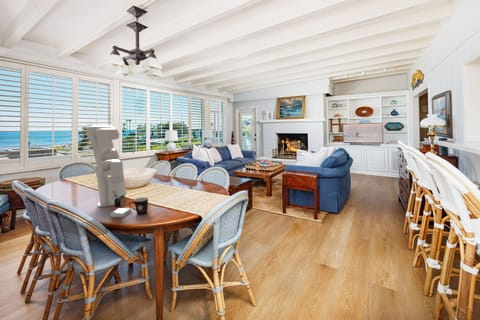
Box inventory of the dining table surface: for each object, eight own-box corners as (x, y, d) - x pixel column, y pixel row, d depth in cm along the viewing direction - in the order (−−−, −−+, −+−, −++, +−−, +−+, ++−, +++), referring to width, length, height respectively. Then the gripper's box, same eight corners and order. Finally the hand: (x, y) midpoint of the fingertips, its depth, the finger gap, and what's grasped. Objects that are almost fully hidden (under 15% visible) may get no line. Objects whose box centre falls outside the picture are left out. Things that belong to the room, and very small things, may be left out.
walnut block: (114, 208, 150) (113, 199, 149) (119, 205, 155) (118, 196, 154) (122, 207, 149) (121, 199, 148) (126, 205, 154) (125, 196, 153)
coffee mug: (151, 211, 156) (150, 197, 155) (143, 216, 148) (142, 201, 147) (137, 210, 160) (136, 196, 158) (128, 215, 152) (127, 200, 150)
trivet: (110, 216, 149) (110, 213, 148) (118, 211, 158) (118, 208, 157) (123, 217, 148) (123, 213, 148) (131, 211, 157) (130, 208, 157)
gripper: (119, 176, 158) (122, 202, 161) (103, 182, 141) (106, 210, 144) (130, 176, 158) (132, 201, 160) (115, 182, 141) (118, 210, 143)
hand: (120, 205), depth 152 cm, fingers closed on walnut block, 5 cm apart
